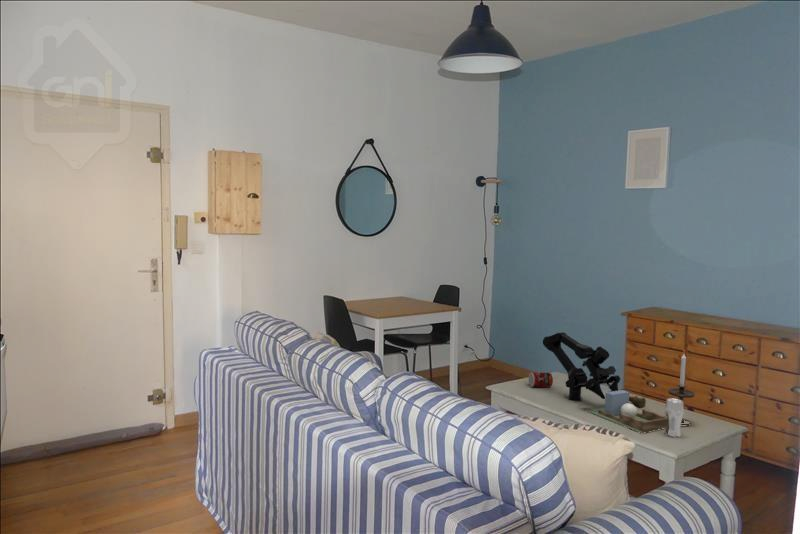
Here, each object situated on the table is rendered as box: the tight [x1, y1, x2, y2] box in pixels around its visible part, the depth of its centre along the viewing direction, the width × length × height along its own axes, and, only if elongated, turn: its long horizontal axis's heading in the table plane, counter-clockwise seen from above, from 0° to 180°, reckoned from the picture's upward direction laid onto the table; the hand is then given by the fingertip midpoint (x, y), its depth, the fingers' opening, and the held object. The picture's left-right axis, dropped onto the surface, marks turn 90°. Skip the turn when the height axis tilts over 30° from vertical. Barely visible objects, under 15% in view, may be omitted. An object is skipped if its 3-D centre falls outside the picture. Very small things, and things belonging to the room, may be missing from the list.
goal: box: [587, 407, 667, 434], centre depth 270 cm, size 32×19×4 cm, turn 27°
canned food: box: [528, 372, 554, 388], centre depth 321 cm, size 8×8×11 cm
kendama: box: [609, 388, 647, 408], centre depth 296 cm, size 6×10×20 cm
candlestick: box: [667, 347, 696, 425], centre depth 266 cm, size 11×11×35 cm
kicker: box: [604, 389, 630, 416], centre depth 276 cm, size 4×11×10 cm, turn 117°
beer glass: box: [664, 397, 685, 437], centre depth 251 cm, size 7×7×15 cm
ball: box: [621, 402, 638, 417], centre depth 270 cm, size 7×7×7 cm
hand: (611, 397), depth 279 cm, fingers open, 9 cm apart
